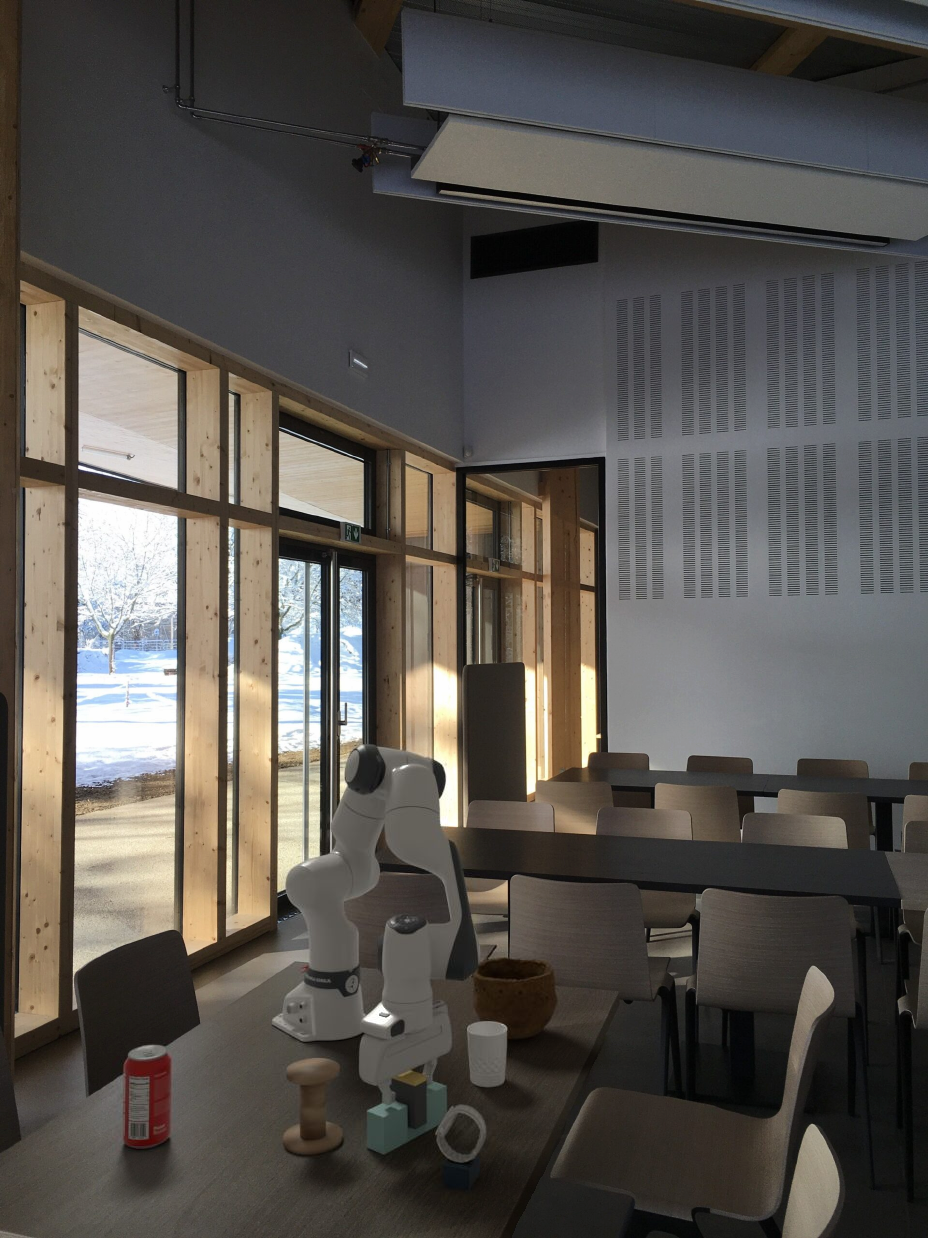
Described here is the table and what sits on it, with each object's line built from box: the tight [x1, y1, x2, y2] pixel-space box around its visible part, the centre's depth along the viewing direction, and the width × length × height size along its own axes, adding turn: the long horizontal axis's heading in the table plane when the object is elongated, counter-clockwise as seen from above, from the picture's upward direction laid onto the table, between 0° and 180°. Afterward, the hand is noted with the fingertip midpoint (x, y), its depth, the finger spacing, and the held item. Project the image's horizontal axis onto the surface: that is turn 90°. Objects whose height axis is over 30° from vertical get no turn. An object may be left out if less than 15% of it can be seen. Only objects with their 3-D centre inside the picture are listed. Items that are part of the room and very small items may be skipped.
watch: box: [434, 1104, 488, 1191], centre depth 153 cm, size 6×8×11 cm
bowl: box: [472, 956, 559, 1040], centre depth 214 cm, size 19×19×15 cm
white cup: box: [466, 1021, 508, 1088], centre depth 190 cm, size 8×8×10 cm
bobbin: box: [282, 1057, 343, 1156], centre depth 166 cm, size 10×10×12 cm
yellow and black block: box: [389, 1070, 427, 1129], centre depth 168 cm, size 6×3×8 cm, turn 51°
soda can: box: [122, 1044, 173, 1150], centre depth 166 cm, size 8×8×15 cm
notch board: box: [366, 1080, 448, 1155], centre depth 168 cm, size 4×16×6 cm, turn 140°
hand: (407, 1094), depth 168 cm, fingers open, 8 cm apart
